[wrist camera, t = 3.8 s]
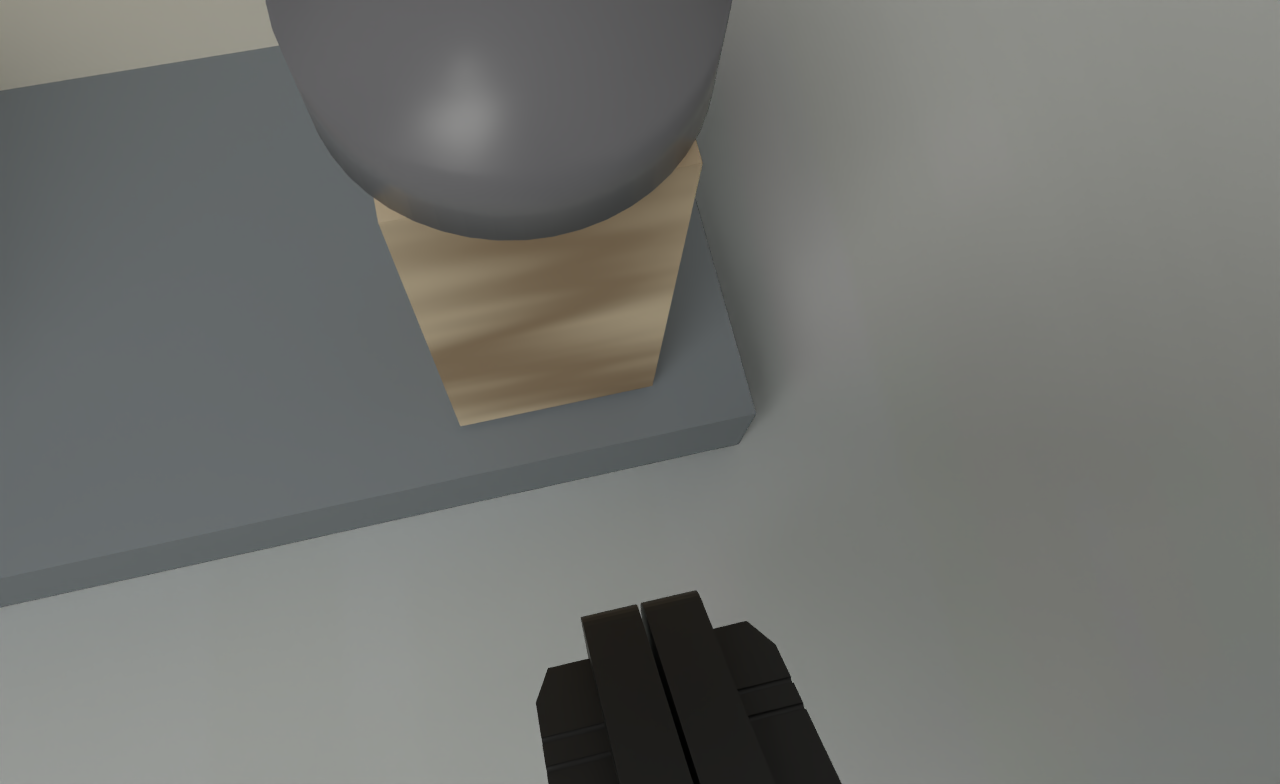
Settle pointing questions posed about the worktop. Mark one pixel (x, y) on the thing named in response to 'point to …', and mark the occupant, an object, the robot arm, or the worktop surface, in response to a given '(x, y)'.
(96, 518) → the slider board
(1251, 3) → the worktop surface
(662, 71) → the knob
